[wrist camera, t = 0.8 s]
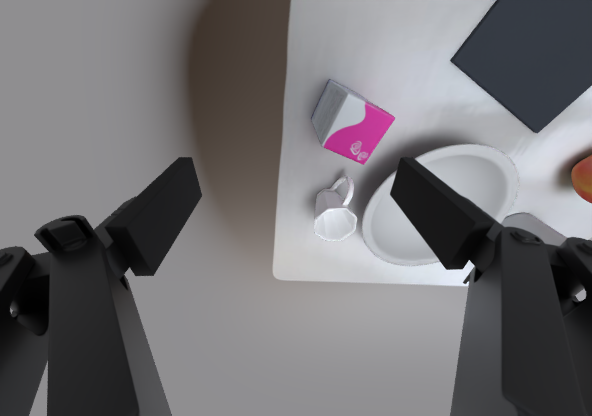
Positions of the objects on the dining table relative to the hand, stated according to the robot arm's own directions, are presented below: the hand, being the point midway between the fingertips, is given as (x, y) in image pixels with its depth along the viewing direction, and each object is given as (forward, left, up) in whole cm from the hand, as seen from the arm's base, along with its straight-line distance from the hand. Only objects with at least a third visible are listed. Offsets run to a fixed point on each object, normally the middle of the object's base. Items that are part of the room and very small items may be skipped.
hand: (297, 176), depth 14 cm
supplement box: (-3, +6, -21) cm, 22 cm away
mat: (-23, +26, -21) cm, 41 cm away
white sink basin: (+2, +28, -21) cm, 35 cm away
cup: (+9, +13, -21) cm, 26 cm away
